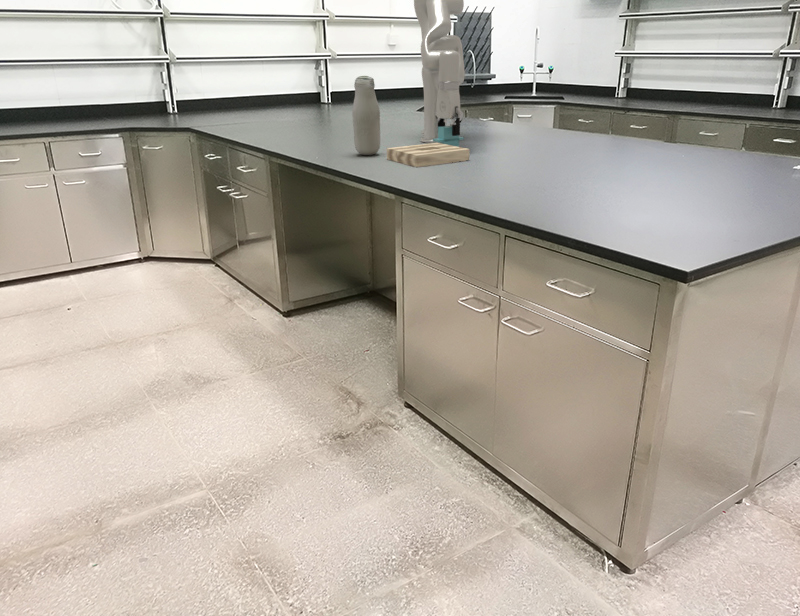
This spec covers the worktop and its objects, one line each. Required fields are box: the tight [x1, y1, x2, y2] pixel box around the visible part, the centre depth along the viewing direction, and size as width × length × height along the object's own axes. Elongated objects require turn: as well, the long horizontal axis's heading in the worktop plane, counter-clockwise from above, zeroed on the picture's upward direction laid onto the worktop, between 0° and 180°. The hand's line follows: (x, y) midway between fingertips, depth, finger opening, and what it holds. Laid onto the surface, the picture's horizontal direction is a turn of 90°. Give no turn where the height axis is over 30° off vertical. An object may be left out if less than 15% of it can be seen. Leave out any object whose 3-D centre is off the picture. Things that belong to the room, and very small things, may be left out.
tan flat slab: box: [386, 143, 471, 168], centre depth 223 cm, size 20×22×4 cm
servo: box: [433, 123, 465, 147], centre depth 240 cm, size 4×12×10 cm, turn 121°
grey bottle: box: [351, 75, 381, 156], centre depth 231 cm, size 10×10×28 cm
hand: (448, 134), depth 240 cm, fingers open, 9 cm apart
